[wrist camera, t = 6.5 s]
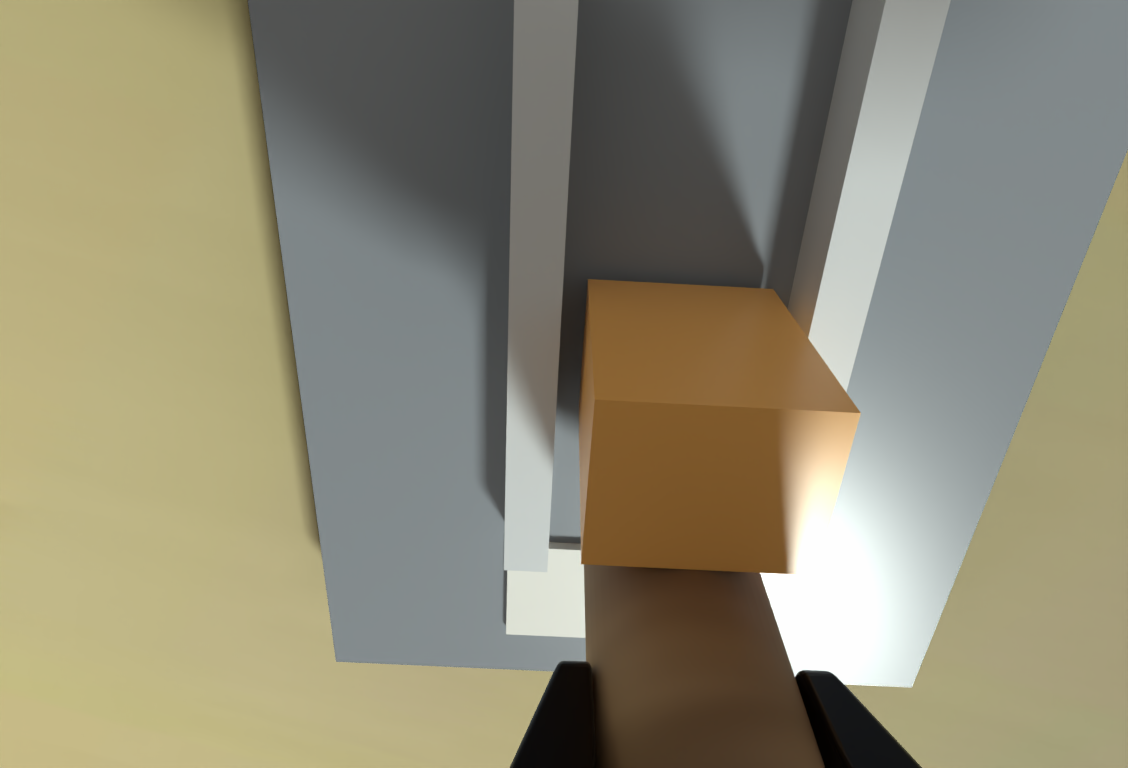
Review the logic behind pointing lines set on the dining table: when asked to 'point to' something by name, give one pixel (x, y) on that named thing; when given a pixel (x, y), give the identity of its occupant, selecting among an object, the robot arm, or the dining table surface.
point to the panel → (667, 276)
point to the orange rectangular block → (706, 431)
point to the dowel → (691, 672)
